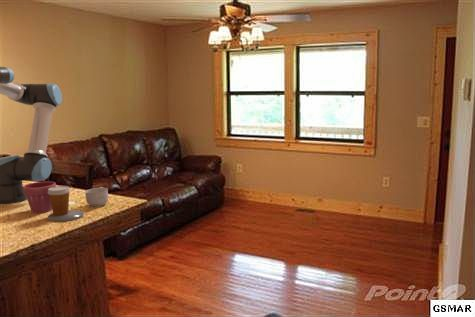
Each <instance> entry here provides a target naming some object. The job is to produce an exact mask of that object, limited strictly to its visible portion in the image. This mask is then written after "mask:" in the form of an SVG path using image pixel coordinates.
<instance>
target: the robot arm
mask: <svg viewBox="0 0 475 317" xmlns="http://www.w3.org/2000/svg"><path fill="white" fill-rule="evenodd" d="M14 80H15V73H14V71H13V70H12V68H10V67H6V66H0V95H2V96H6V97H7V98H8V99H9V100H11V101H14V102H17V103H20V104H24V105H26V106H32V107H33V108H34V114H33V119H32V125H31V130H30V131H31V132H30V136H29V142H28V150H27V151H25V152H24V154H23V158H21V156H20V155H19V154H18V155H17V154H16V155H15V154H14V155H9V156H5V157H0V205H1V204H2V205H4V204H5V205H6V204H15V203H20V202H23V201H27V197H26V195H25V194H24V191H23V186H24V185H23V182H44V181H46V180H47V179H48V178H49V177H50V175H51V173H52V168H53V166H52V160H50V158H49V155H48V154H47V148H48V141H49V136H50V129H51V124H52V119H53V113H54V112H55V111H56V110H57V106H60V105H62V102H63V95H62V91H61V89H60V88H59V86H58V85H57V84H55V83H19V82H14Z"/></svg>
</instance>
